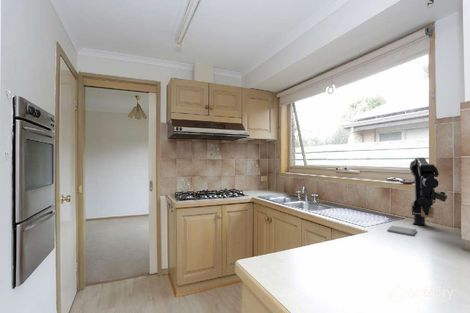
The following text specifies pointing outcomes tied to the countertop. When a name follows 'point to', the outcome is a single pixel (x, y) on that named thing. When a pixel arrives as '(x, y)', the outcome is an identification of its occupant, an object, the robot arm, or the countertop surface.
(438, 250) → the countertop surface
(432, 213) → the walnut block
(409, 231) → the slate coaster
